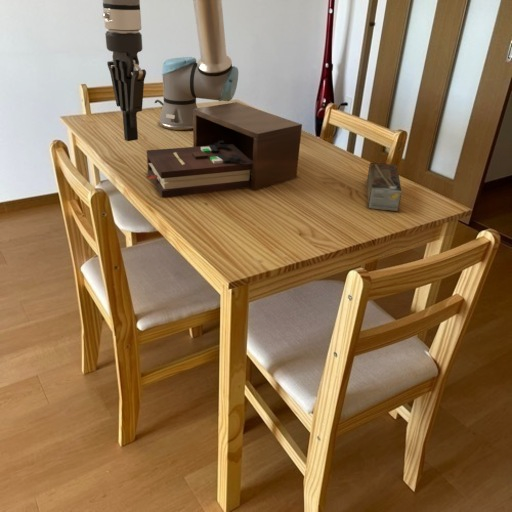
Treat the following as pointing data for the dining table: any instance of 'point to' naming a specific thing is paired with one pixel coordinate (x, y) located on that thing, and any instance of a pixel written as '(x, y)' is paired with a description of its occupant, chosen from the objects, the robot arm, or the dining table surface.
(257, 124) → the walnut shelf
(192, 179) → the decorative book
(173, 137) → the dining table surface
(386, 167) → the beverage carton
